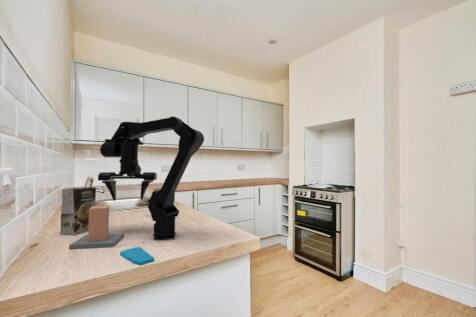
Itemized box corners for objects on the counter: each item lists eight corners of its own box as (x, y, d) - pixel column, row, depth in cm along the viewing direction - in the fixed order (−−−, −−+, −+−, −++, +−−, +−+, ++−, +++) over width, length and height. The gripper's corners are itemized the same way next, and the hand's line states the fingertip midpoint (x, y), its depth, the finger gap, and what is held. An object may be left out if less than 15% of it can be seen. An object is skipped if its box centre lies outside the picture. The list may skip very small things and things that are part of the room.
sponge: (131, 265, 55) (155, 256, 58) (118, 251, 64) (139, 244, 67) (131, 271, 55) (155, 262, 58) (118, 256, 64) (140, 249, 68)
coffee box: (74, 235, 80) (76, 189, 81) (59, 234, 81) (61, 188, 82) (95, 228, 89) (96, 187, 90) (81, 227, 90) (82, 186, 91)
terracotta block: (108, 235, 76) (109, 205, 76) (106, 240, 71) (107, 207, 72) (90, 237, 74) (91, 206, 74) (88, 242, 69) (88, 209, 70)
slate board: (124, 236, 79) (124, 233, 79) (113, 246, 69) (113, 242, 69) (85, 238, 77) (85, 234, 77) (69, 249, 67) (69, 245, 67)
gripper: (159, 158, 93) (158, 196, 92) (110, 157, 90) (109, 197, 89) (154, 157, 82) (153, 200, 81) (97, 156, 79) (96, 202, 78)
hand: (128, 200), depth 83 cm, fingers open, 9 cm apart
